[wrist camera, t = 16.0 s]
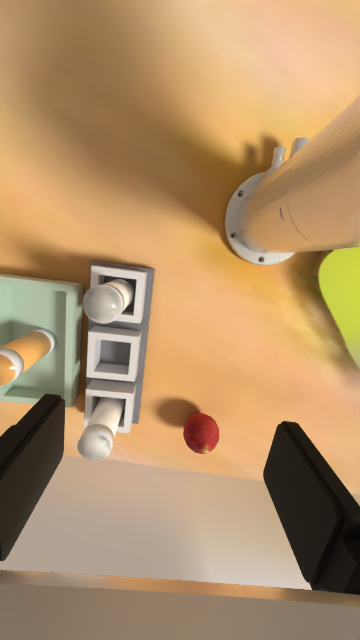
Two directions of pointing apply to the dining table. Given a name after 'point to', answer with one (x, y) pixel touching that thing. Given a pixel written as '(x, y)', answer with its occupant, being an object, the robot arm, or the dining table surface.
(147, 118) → the dining table surface
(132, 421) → the fuse holder
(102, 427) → the cylinder
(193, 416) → the onion
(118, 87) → the dining table surface
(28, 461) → the robot arm
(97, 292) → the cylinder
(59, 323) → the tray
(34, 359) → the marked fuse
